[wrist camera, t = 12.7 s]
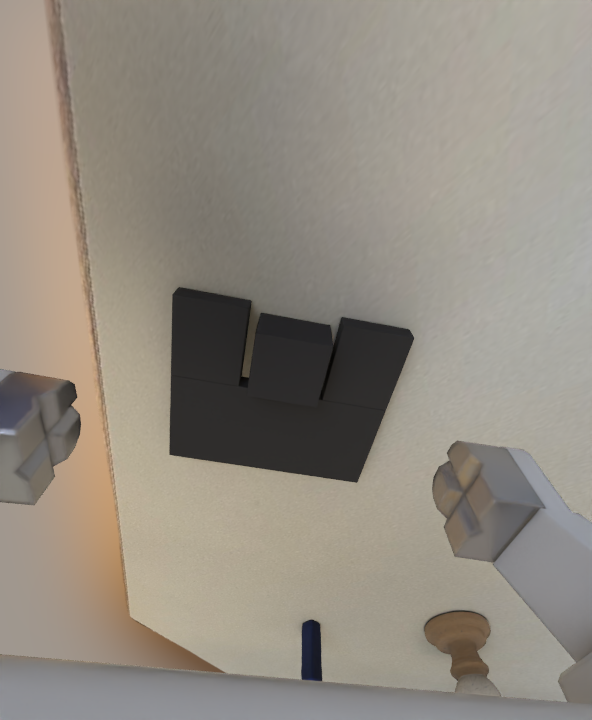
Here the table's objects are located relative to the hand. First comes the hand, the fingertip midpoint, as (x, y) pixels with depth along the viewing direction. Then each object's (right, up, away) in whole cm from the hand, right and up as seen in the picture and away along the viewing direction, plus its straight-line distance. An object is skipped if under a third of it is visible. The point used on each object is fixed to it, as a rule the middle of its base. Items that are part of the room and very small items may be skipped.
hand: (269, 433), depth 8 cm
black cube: (0, +2, +22) cm, 22 cm away
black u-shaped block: (-1, -1, +24) cm, 24 cm away
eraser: (+3, -36, +45) cm, 58 cm away
